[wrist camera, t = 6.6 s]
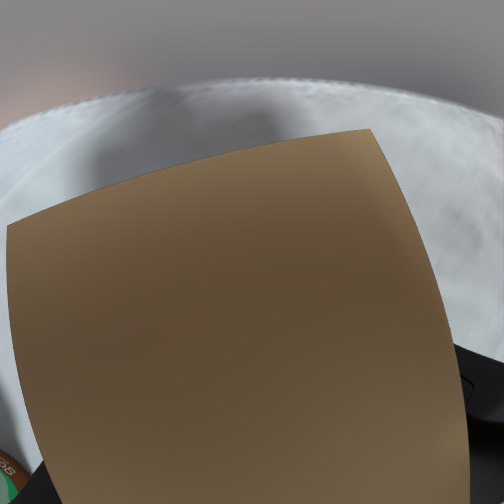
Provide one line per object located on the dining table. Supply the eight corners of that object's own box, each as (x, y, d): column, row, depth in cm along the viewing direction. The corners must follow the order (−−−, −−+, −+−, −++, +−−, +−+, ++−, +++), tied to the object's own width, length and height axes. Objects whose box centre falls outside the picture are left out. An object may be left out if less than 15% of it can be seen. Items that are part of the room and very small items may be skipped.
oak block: (312, 402, 14) (467, 527, 2) (212, 428, 13) (135, 608, 2) (279, 287, 15) (370, 128, 4) (181, 312, 15) (7, 225, 3)
